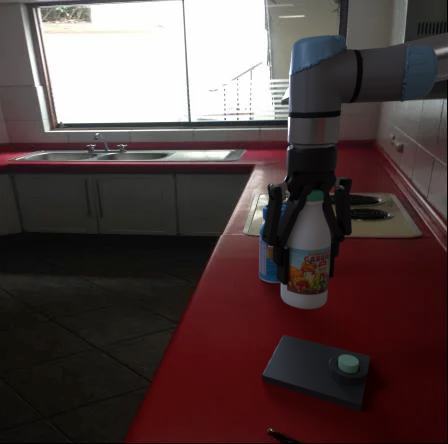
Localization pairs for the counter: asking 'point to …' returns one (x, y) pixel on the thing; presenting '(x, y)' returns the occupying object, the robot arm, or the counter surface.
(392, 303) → the counter surface
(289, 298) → the milk bottle
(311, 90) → the robot arm
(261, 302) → the counter surface
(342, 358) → the button
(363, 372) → the scale
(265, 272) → the beverage bottle
